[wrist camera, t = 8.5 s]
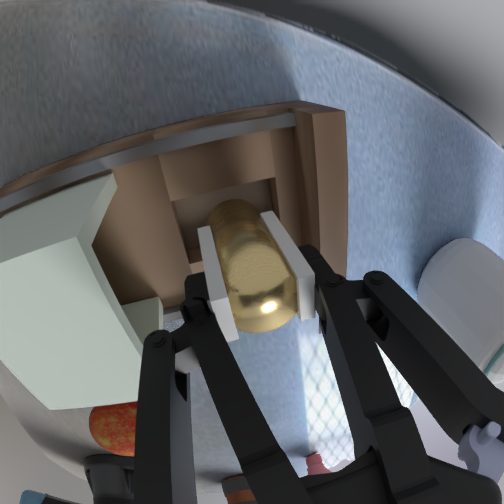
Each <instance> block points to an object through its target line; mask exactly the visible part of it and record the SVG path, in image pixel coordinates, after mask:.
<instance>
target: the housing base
mask: <svg viewBox="0 0 504 504" xmlns="http://www.w3.org/2000/svg"><path fill="white" fill-rule="evenodd" d="M109 173H113V174H114V177H115V181H116V184H117V189H116V191H115V193H114V195H113V197H112V200H111V202H110V204H109V206H108V208H107V210H106V213H105V215H104V217H103V219H102V222H101V224H100V226H99V228H98V231H97V233H96V236H95V238H94V240H93V243H92V245H91V246H92V248H93V250H94V253H95V255H96V257H97V259H98V261H99V264H100V266H101V268H102V270H103V272H104V274H105V276H106V278H107V280H108V282H109V284H110V286H111V288H112V290H113V292H114V294H115V296H116V298H117V300H118V302H119V304H120V306H121V305H125V304H130V303H134V302H138V301H142V300H146V299H150V298H154V297H158V296H159V298H160V300H161V303H162V305H163V323H165V322H169V321H173V320H178V319H182V318H183V316H182V314H181V312H180V305H181V303H182V302H183V301H184V300H185V299H186V298H185V287H184V281H185V279H186V277H187V275H191V274H195V273H199V272H203V271H204V265H203V259H202V254H201V248H200V242H199V236H198V230H197V228H201V227H205V226H206V223H207V218H208V216H209V214H210V212H211V211H212V210H213V208H214V207H215V206H217V205H218V204H219V203H221V202H223V201H226V200H229V199H242V200H245V201H248V202H249V203H251V204H252V205H253V206H254V207H255V208H256V209H257V211H258V212H259V214H260V213H263V212H268V211H273V212H274V214H275V215H276V217H277V218H278V220H279V221H280V223H281V224H282V225H283V227H284V228H285V230H286V231H287V233H288V234H289V236H290V237H291V239H292V240H293V242H294V243H295V245H296V246H297V247H299V246H303V245H307V244H310V245H312V246H314V247H316V248H317V249H318V251H319V252H320V254H321V255H322V256H323V257H324V259H325V260H326V261H327V263H328V264H329V265H330V267H331V268H332V269H333V271H334V272H335V273H336V274H340V275H342V276H344V277H345V278H346V268H347V243H348V161H347V136H346V119H345V111H343V110H340V109H336V108H332V107H328V106H324V105H319V104H315V103H311V102H306V101H301V100H300V101H292V102H284V103H276V104H269V105H262V106H256V107H250V108H244V109H238V110H233V111H227V112H222V113H217V114H212V115H208V116H203V117H198V118H194V119H190V120H185V121H181V122H177V123H173V124H169V125H165V126H162V127H158V128H154V129H151V130H147V131H144V132H140V133H137V134H134V135H130V136H127V137H124V138H121V139H118V140H114V141H111V142H108V143H105V144H102V145H100V146H97V147H94V148H91V149H88V150H86V151H83V152H80V153H77V154H75V155H72V156H70V157H67V158H65V159H62V160H60V161H57V162H55V163H52V164H50V165H48V166H45V167H43V168H41V169H38V170H36V171H34V172H32V173H29V174H27V175H25V176H23V177H21V178H19V179H16V180H14V181H12V182H10V183H8V184H6V185H4V186H2V187H1V188H0V219H1V218H2V217H3V215H4V214H6V213H8V212H10V211H12V210H15V209H17V208H19V207H22V206H24V205H26V204H29V203H31V202H33V201H36V200H38V199H41V198H43V197H46V196H48V195H51V194H53V193H56V192H58V191H61V190H64V189H66V188H69V187H72V186H75V185H77V184H80V183H83V182H86V181H89V180H91V179H94V178H97V177H100V176H103V175H106V174H109Z"/></svg>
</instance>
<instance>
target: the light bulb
mask: <svg viewBox="0 0 504 504" xmlns="http://www.w3.org/2000/svg"><path fill="white" fill-rule="evenodd" d="M306 462H307V463H306V464H307V466H308V468H307V471H308V475H315V474H324V473H332V472H330V471H329V470H328V469H327V468H325V467H324V464H323V463H322V458H321V456H320V454H315V455H310V456H309V457H308V458H306Z"/></svg>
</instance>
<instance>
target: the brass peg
mask: <svg viewBox="0 0 504 504" xmlns="http://www.w3.org/2000/svg"><path fill="white" fill-rule="evenodd" d="M209 225H210V228H211V232H212V236H213V241H214V245H215V249H216V253H217V257H218V261H219V264H220V268H221V272H222V276H223V280H224V284H225V288H226V292H227V295H228V299H229V303H230V307H231V311H232V314H233V318H234V322H235V325H236V328H237V329H239V330H241V331H244V332H249V333H262V332H267V331H271V330H274V329H276V328H278V327H280V326H282V325H284V324H285V323H287V322H288V321H289V320H290V319H292V318H293V317H294V315H295V314H296V313H297V311H298V300H297V285H296V279H295V278H294V276H293V274H292V272H291V270H290V269H289V267H288V265H287V263H286V261H285V260H284V258H283V256H282V254H281V253H280V251H279V249H278V247H277V246H276V244H275V242H274V240H273V239H272V237H271V235H270V233H269V231H268V230H267V228H266V226H265V225H264V223H263V221H262V219H261V216H260V214H259V212H258V211H257V209H256V208H255V207H254V206H253V205H252V204H251V203H249V202H248V201H245V200H242V199H229V200H226V201H223V202H221V203H219V204H218V205H217V206H215V207H214V208H213V210H212V211H211V212H210V214H209V216H208V218H207V223H206V226H209Z"/></svg>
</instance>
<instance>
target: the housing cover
mask: <svg viewBox="0 0 504 504" xmlns="http://www.w3.org/2000/svg"><path fill="white" fill-rule="evenodd" d="M116 189H117V184H116V181H115V177H114V174H113V173H109V174H106V175H103V176H100V177H97V178H94V179H91V180H89V181H86V182H83V183H80V184H77V185H75V186H72V187H69V188H66V189H64V190H61V191H58V192H56V193H53V194H51V195H48V196H46V197H43V198H41V199H38V200H36V201H33V202H31V203H29V204H26V205H24V206H22V207H19V208H17V209H15V210H12V211H10V212H8V213H6V214H4V215H3V217H2V218H1V219H0V360H1V361H2V362H3V363H4V364H5V366H6V367H7V368H8V369H9V370H10V371H11V372H12V373H13V374H14V375H15V376H16V378H17V379H18V380H19V381H20V382H21V383H22V384H23V385H24V386H25V387H26V388H27V389H28V390H29V391H30V392H31V393H32V394H33V395H34V396H35V397H36V398H37V399H38V400H39V401H40V402H41V403H43V404H44V405H45V406H46V407H47V408H48V409H49V410H58V409H72V408H84V407H94V406H103V405H111V404H119V403H126V402H133V401H137V400H138V389H139V379H140V369H141V360H142V352H143V344H144V340H145V338H146V337H147V336H148V334H150V333H151V332H153V331H156V330H163V305H162V303H161V300H160V298H159V296H158V297H154V298H150V299H146V300H142V301H138V302H134V303H130V304H125V305H121V306H120V304H119V302H118V300H117V298H116V296H115V294H114V292H113V290H112V288H111V286H110V284H109V282H108V280H107V278H106V276H105V274H104V272H103V270H102V268H101V266H100V264H99V261H98V259H97V257H96V255H95V253H94V250H93V248H92V246H91V245H92V243H93V240H94V238H95V236H96V233H97V231H98V228H99V226H100V224H101V222H102V219H103V217H104V215H105V213H106V210H107V208H108V206H109V204H110V202H111V200H112V197H113V195H114V193H115V191H116Z"/></svg>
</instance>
